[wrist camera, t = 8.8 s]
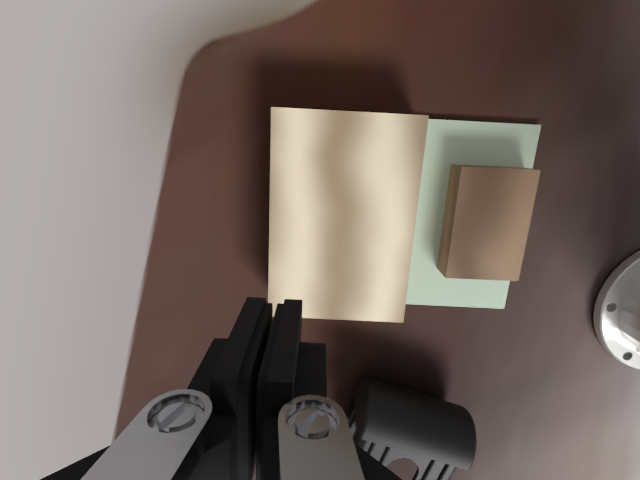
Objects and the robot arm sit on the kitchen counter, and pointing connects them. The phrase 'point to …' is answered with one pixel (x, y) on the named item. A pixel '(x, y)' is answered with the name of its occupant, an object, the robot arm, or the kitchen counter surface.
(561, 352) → the kitchen counter surface
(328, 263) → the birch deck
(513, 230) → the brown box
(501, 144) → the mat
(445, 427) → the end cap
